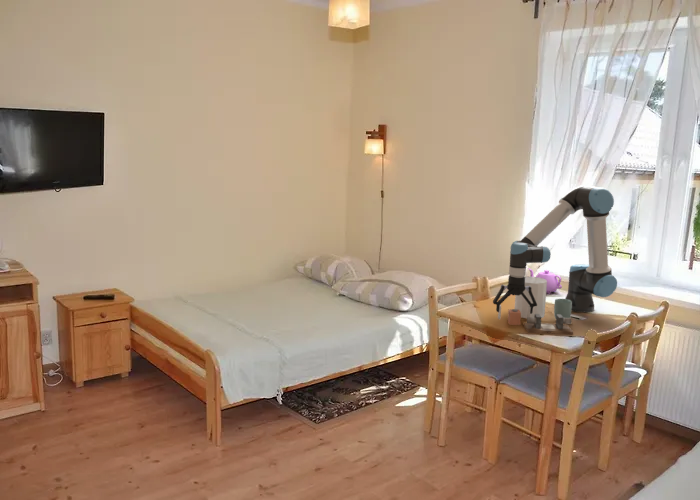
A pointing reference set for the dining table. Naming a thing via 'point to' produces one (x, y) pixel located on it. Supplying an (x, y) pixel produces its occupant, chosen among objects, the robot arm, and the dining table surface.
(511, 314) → the joint block
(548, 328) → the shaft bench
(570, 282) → the robot arm
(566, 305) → the cup
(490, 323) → the dining table surface
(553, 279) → the teapot
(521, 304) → the container
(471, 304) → the dining table surface
